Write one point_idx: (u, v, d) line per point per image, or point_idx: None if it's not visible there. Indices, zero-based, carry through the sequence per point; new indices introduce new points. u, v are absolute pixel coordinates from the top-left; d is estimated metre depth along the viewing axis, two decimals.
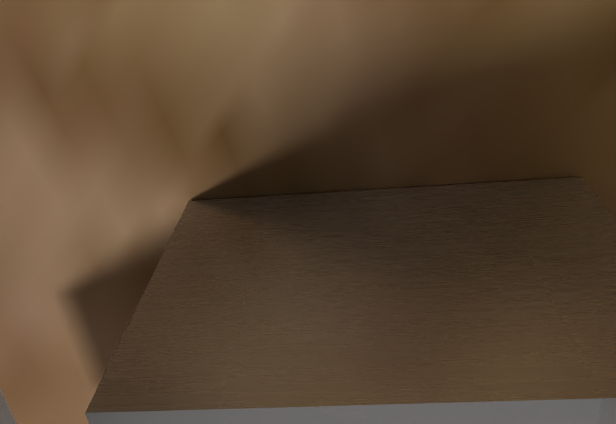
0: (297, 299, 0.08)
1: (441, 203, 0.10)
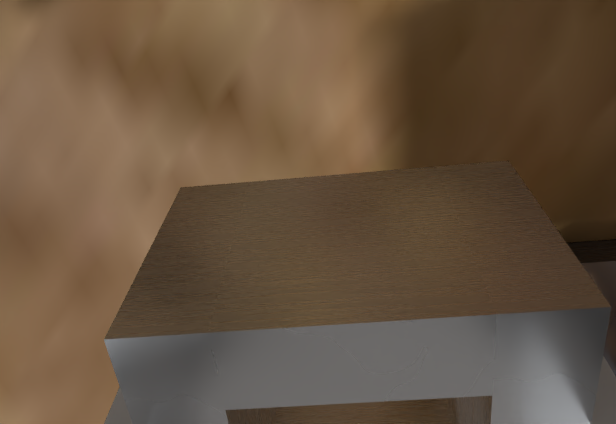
0: (270, 257, 0.10)
1: (392, 183, 0.12)
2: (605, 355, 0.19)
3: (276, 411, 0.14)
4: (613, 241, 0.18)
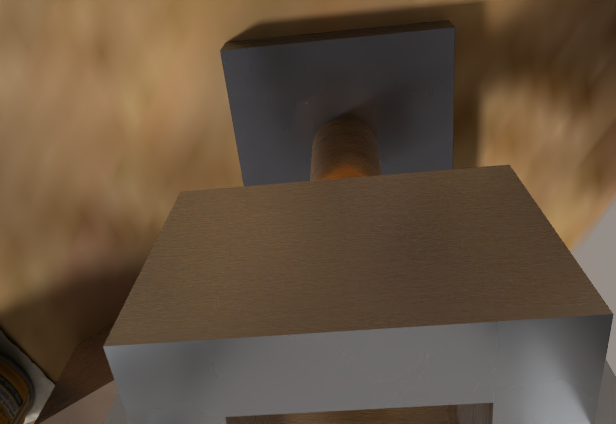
0: (270, 262, 0.10)
1: (392, 187, 0.12)
2: (298, 141, 0.22)
3: (276, 415, 0.14)
4: (296, 36, 0.21)
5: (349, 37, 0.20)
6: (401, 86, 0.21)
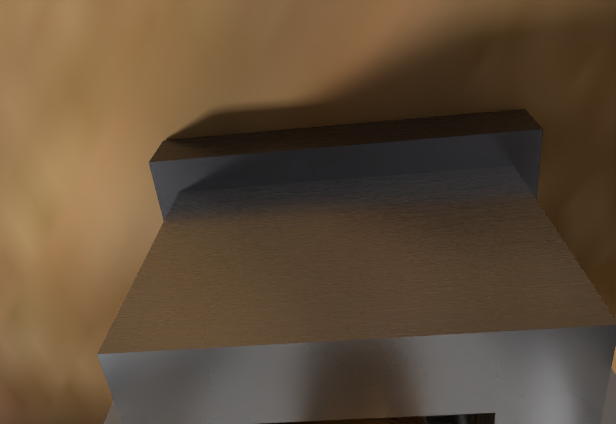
0: (268, 267, 0.10)
1: (394, 189, 0.12)
2: None
3: None
4: (276, 132, 0.13)
5: (363, 142, 0.12)
6: None
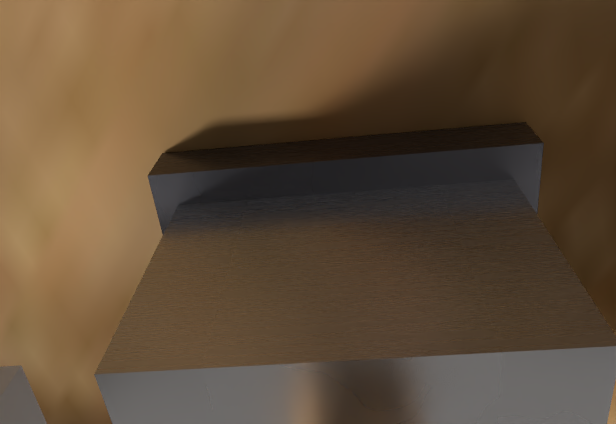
0: (267, 284, 0.10)
1: (394, 203, 0.12)
2: None
3: None
4: (275, 145, 0.13)
5: (363, 156, 0.12)
6: None
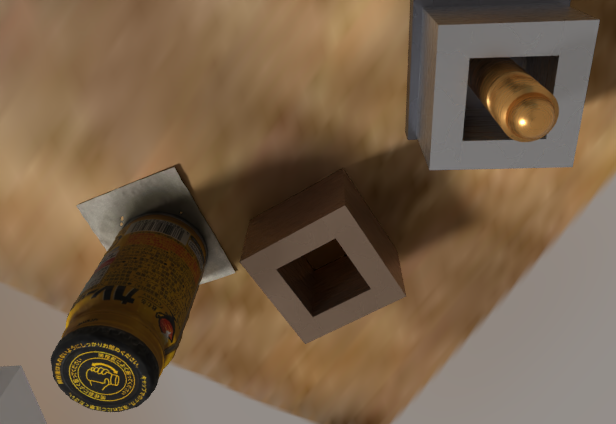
0: (479, 16, 0.28)
1: (514, 6, 0.30)
2: None
3: None
4: None
5: None
6: None
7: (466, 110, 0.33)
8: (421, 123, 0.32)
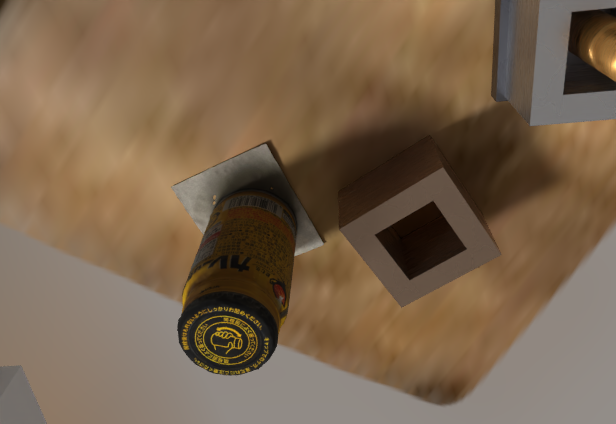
0: None
1: None
2: None
3: None
4: None
5: None
6: None
7: None
8: (513, 83, 0.32)
